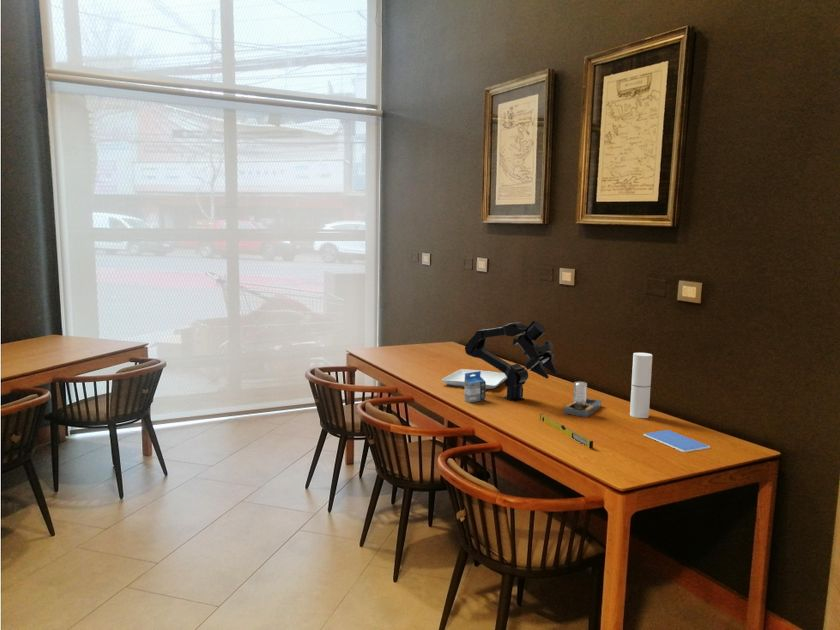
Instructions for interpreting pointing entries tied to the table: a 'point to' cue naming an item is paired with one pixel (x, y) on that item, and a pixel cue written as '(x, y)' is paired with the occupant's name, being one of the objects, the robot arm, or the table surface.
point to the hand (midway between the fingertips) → (552, 375)
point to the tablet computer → (676, 441)
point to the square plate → (459, 376)
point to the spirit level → (566, 431)
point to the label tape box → (474, 387)
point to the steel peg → (580, 395)
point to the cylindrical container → (641, 385)
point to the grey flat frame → (590, 408)
